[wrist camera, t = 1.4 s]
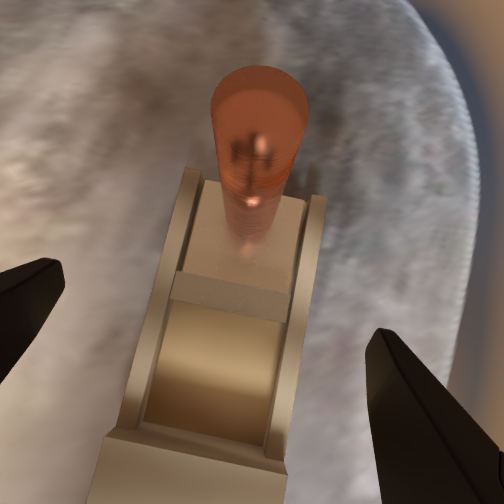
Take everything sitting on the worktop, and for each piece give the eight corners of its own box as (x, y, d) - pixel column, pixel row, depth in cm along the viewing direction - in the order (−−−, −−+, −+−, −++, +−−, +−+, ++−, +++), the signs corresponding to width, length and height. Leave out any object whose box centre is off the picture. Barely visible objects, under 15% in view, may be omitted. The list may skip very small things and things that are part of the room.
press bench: (267, 494, 19) (276, 546, 15) (120, 463, 19) (85, 506, 15) (316, 212, 23) (335, 187, 19) (192, 186, 23) (180, 155, 19)
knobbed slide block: (279, 322, 20) (330, 327, 9) (179, 300, 20) (102, 280, 9) (300, 206, 21) (366, 86, 10) (207, 186, 21) (172, 46, 10)
